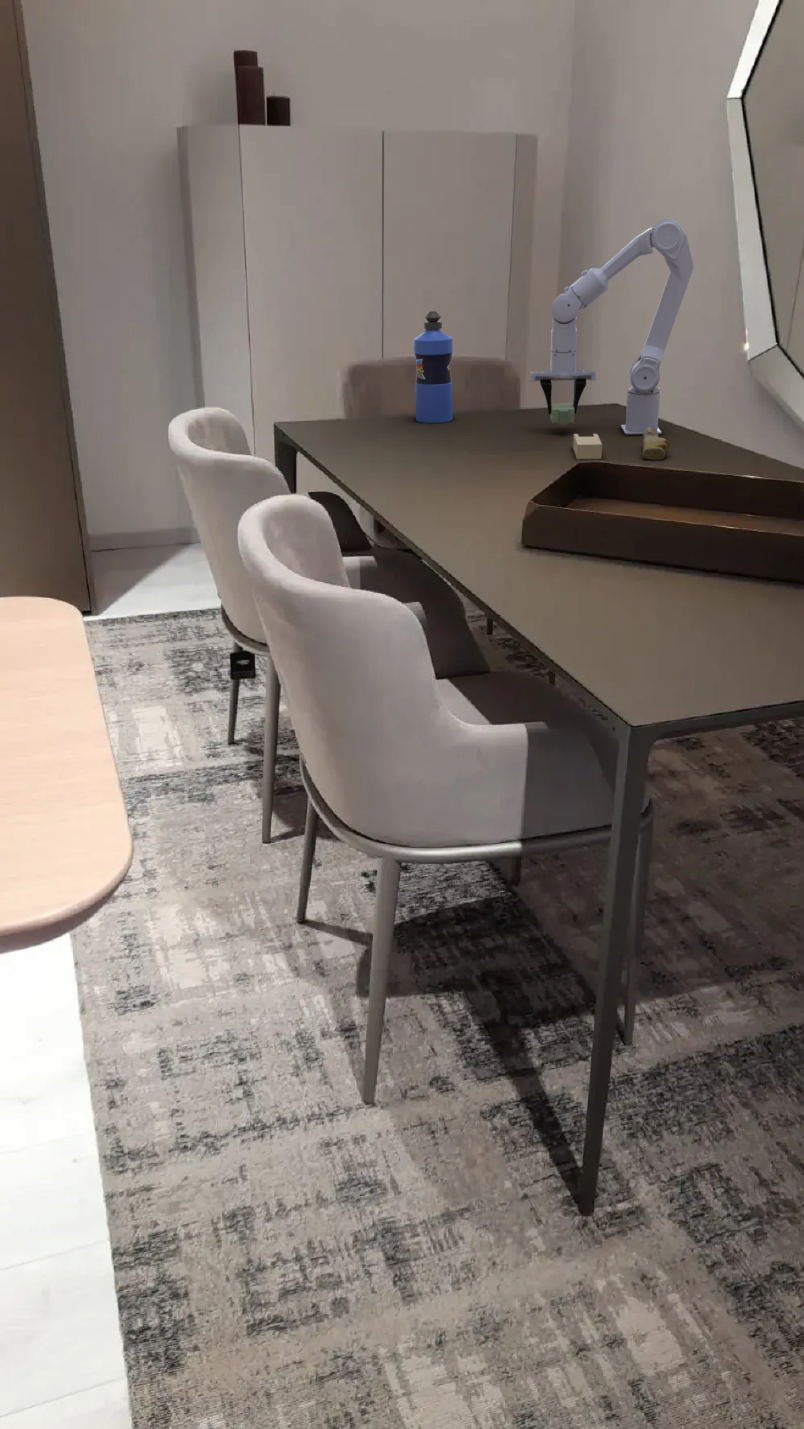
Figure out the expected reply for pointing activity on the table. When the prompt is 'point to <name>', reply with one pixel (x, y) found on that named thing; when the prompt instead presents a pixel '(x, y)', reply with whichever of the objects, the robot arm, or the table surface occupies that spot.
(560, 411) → the green notched block
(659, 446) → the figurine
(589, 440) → the cream pad
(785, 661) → the table surface
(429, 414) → the water bottle
